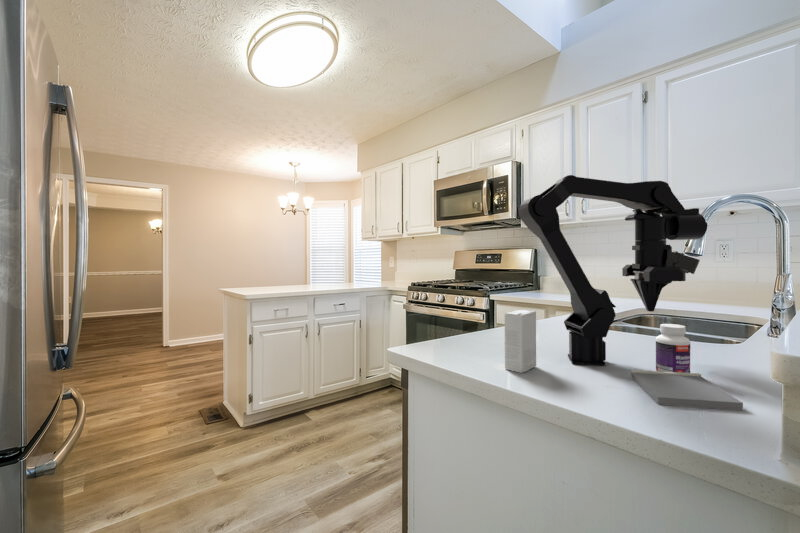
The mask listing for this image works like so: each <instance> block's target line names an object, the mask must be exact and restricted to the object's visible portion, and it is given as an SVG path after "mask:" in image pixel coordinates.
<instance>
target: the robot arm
mask: <svg viewBox="0 0 800 533" xmlns="http://www.w3.org/2000/svg"><path fill="white" fill-rule="evenodd" d="M570 197H573V198H581V199H582V198H583V199H589V200H590V199H591V200H597V201H607V202H614V203H619V204H620V205H623V206H624V207H626V208H630V209H633V210H632V211H631V212H630V213H629V214H628V215H627V216H626V217H625V218H624V220H625V221H626V222H628V221H633V222H634V245H631V250H632V251H634V263H631V264H626V265H624V266H623V267H622V269H621V270H622V277H630V276H631V277H634V278H630V281H631V283H632V284H633V286H634V288H635V291H636V292H637V294H638V295H639V297H640V299H641V302H642V304H643V306H644V307H645V309H646V311H647V312H651V313H652V312H655V309H656V306H657V303H658V300H659V297H660V295H661V292H662V290H663V288H664V287H666V286H668V285H669V284H671V283H672V282H685V281H686V274H692V275H695V273H696V270H697V268H698V266H699V263H700V259H698V258H695V257H692V256H687V255H685V254H684V253H683V252H678V251H676V250H675V251H674V250H673V247H672V246H671V244H667V240H670V241H684V240H687V241H689V240H700V239H701V238H703V237H704V236H705V234H706V233H707V230H708V222H707V221H706V220H707V219H705V217H704V215H703V214H701V213H700V208H699V207H693V208H685V207H684V205H683V204H682V203H681V202H680V200H679V199H678V197H677V196H676V195H675V194H674V192H673V191H672V189H671V186H670V185H669V182H667V181H663V180H649V181H647V180H646V181H638V182H628V183H627V182H622V181H613V180H612V181H611V180H603V179H595V178H589V177H580V176H576V175H574V174H569V175H565V176H564V177H562V178H560V179H557V181H556V182H555V183H553V184H552V185H551V186H550V187H548V188H546V190H544V191H542V192H541V193H540V194H537V195H534V196H532V197H530V198H527V199H526V200H524V201H522V202H521V204H520V205H519V209H518V211H517V212H518V216H519V219H520V220H521V221H522V223H523V224H524V225H525V226H526V227H527V229H528V230H530V232H532V233H533V234H534V235H535V236H536V237H537V238H538V239H539V241H541V244H542V246H543V247H544V249H545V251H546V253H547V254H548V256H549V257H550V259H551V261H552V263H553V265H554V266H555V269H556V270H557V272H558V274H559V276H560V277H561V279H562V281H563V282H564V284H565V286H566V288H567V290H568V291H569V294H570V306H571V308H572V310H573V312H571V313H570V315H569V316H568V317H567V318H566V319H564V321H563V323H564V327H565V329H566V330H567V331H568V346H569V347H568V350H569V351H568V353H569V354H568V353H567V358H568V359H569V361H570V363H571V364H572V365H591V366H606V359H607V358H606V354H607V351H606V348H607V346H606V345H607V343H606V341H605V340H603V338H607V335H608V333H609V330H610V327H611V326H612V324H613V323H614V321H615V319H616V312H615V309H614V308H617V306H616V305H615V304H614V303H613V301H611V298H610V295H609V293H608V292H607V290H604V289H598V288H595V287H593V285H592V284H591V282H590V280H589V279H588V277H587V275H586V273H585V271H584V270H583V268H582V267H581V265H580V262H579V261H578V259H577V257H576V255H575V254H574V252H573V250H572V249H571V246H570V245H569V243H568V241H567V240H566V237H565V236H564V235H563V232H562V230H561V226H560V225H561V224H560V216H559V213H558V210H557V208H558V207H559V206H561V205H562V204H563V203H564V202H566V201H567V200H568V199H569V198H570Z"/></svg>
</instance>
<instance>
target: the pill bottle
mask: <svg viewBox="0 0 800 533" xmlns="http://www.w3.org/2000/svg"><path fill="white" fill-rule="evenodd" d="M686 328H687V327H686V326H685V325H682V324H676V323H661V324H660V325H659V332H660V333H661V334H659V335H657V336H656V338H655V371H661V372H680V373H691V340H690V339H689V338H688V337H686V336H685V335H686V332H687V329H686Z"/></svg>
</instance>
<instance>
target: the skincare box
mask: <svg viewBox="0 0 800 533" xmlns="http://www.w3.org/2000/svg"><path fill="white" fill-rule="evenodd" d="M536 366H537V311H535V310H525V309H517V310H513V311H509V312H505V313H504V369H505V370H507V371H510V370H511V372H514V371H515V372H516V373H519V374H523V373H525V372H527V371H530V370H531V369H534V368H535V367H536Z"/></svg>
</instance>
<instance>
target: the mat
mask: <svg viewBox="0 0 800 533" xmlns="http://www.w3.org/2000/svg"><path fill="white" fill-rule="evenodd" d="M630 378H631V380H633V381H634V383H636V384H637V385H638V387H640V388H641V389H642V390H643V391H644V392H645V394H647V395H648V397H650V398H651V399H652V400H653V401H654V402H655V403H656V404H657V405H659V406H672V407H674V406H675V407H683V408H684V407H685V408H699V409H714V410H715V409H716V410H727V411H738V410H740V411H741V412H743V411H744V409H743V408H744V403H743V402H742V401H740V400H739V399H737V398H736V397H734V396H732V394H729V393H728V392H726V391H725V390H723V389H721V387H719V386H717V385H715V384H714V383H712V382H710V381H709V380H708V379H706V378H704V377H702V374H701V373H698V372H697V373H696V372H690V373H680V372H661V371H656V370H641V369H640V370H639V369H638V370H637V369H631V370H630ZM740 411H739V412H740Z"/></svg>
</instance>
